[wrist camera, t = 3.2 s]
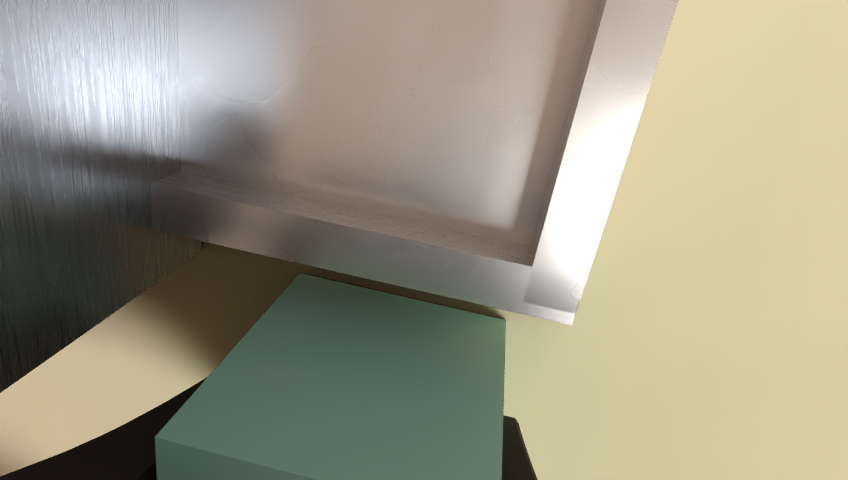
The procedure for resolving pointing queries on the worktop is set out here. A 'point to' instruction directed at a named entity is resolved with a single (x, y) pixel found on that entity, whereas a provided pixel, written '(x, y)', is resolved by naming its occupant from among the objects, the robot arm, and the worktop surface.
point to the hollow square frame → (310, 146)
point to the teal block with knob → (347, 394)
